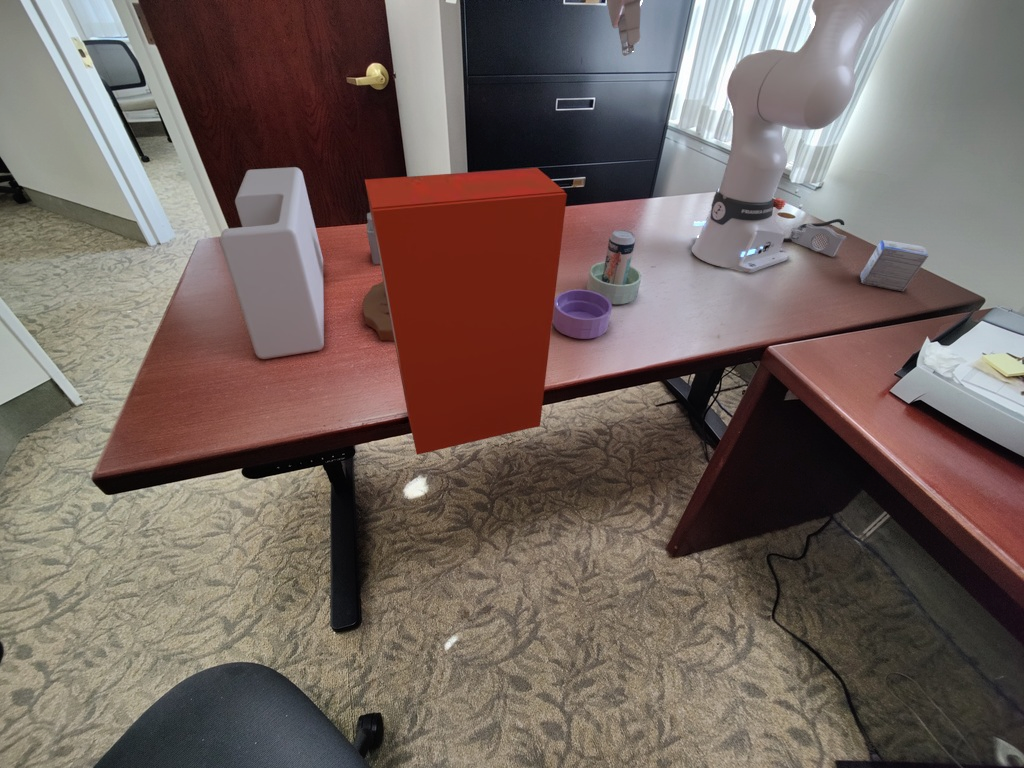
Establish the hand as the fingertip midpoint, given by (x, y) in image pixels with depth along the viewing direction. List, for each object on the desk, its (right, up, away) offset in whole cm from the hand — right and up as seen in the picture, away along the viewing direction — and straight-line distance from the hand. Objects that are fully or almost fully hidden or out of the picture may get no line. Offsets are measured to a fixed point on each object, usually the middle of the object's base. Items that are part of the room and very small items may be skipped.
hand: (631, 49), depth 70 cm
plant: (-37, -40, +13) cm, 56 cm away
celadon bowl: (+1, -35, +20) cm, 40 cm away
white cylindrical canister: (+1, -34, +20) cm, 40 cm away
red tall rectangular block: (-25, -59, -8) cm, 64 cm away
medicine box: (+63, -31, +27) cm, 75 cm away
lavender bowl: (-7, -42, +11) cm, 44 cm away
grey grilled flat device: (+56, -19, +40) cm, 72 cm away
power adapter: (-49, -25, +29) cm, 62 cm away
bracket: (-61, -37, +15) cm, 73 cm away
